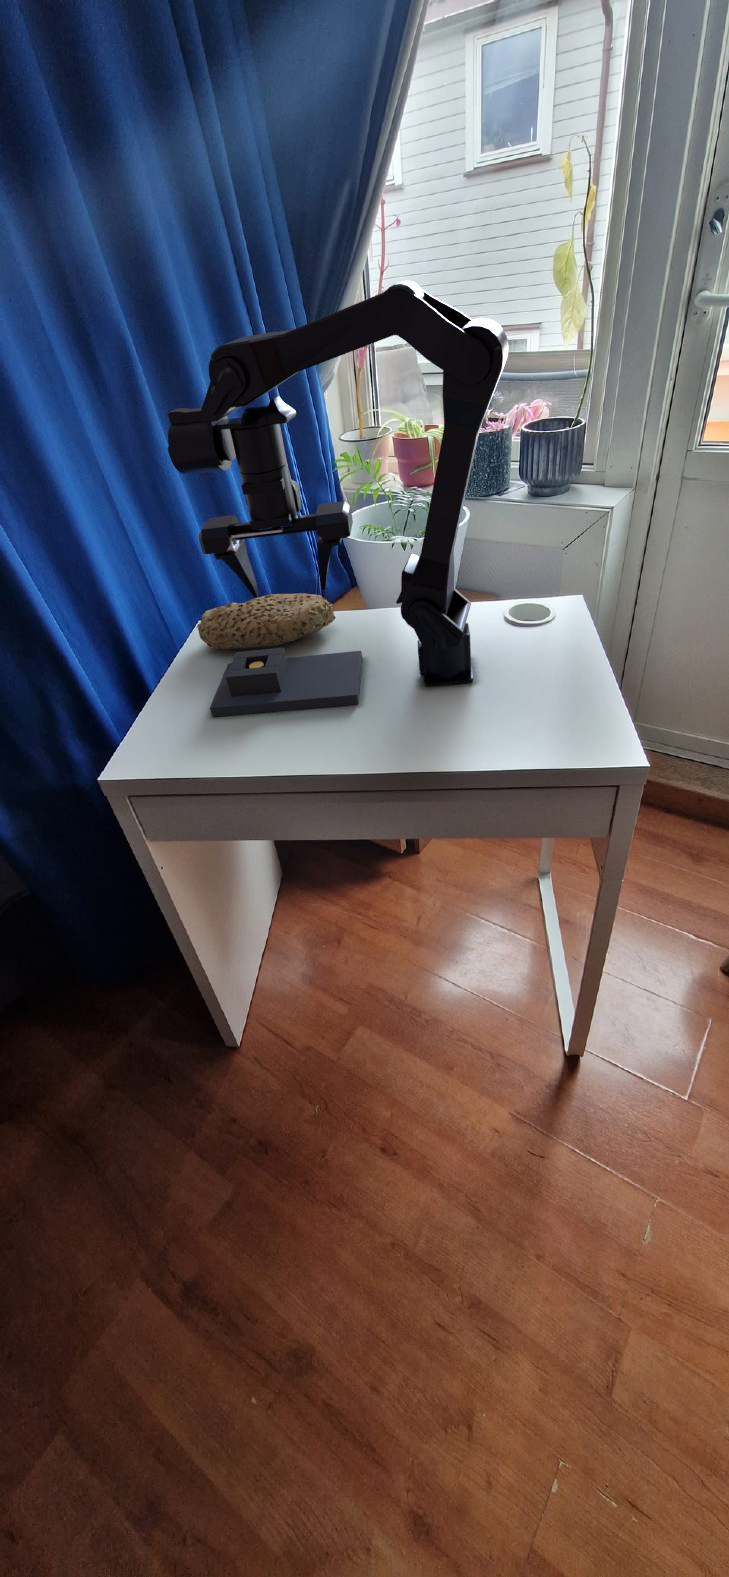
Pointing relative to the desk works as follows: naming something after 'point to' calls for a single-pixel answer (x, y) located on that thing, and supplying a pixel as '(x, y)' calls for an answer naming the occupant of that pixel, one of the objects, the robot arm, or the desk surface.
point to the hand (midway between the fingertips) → (290, 593)
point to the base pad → (299, 686)
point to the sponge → (265, 621)
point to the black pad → (257, 672)
